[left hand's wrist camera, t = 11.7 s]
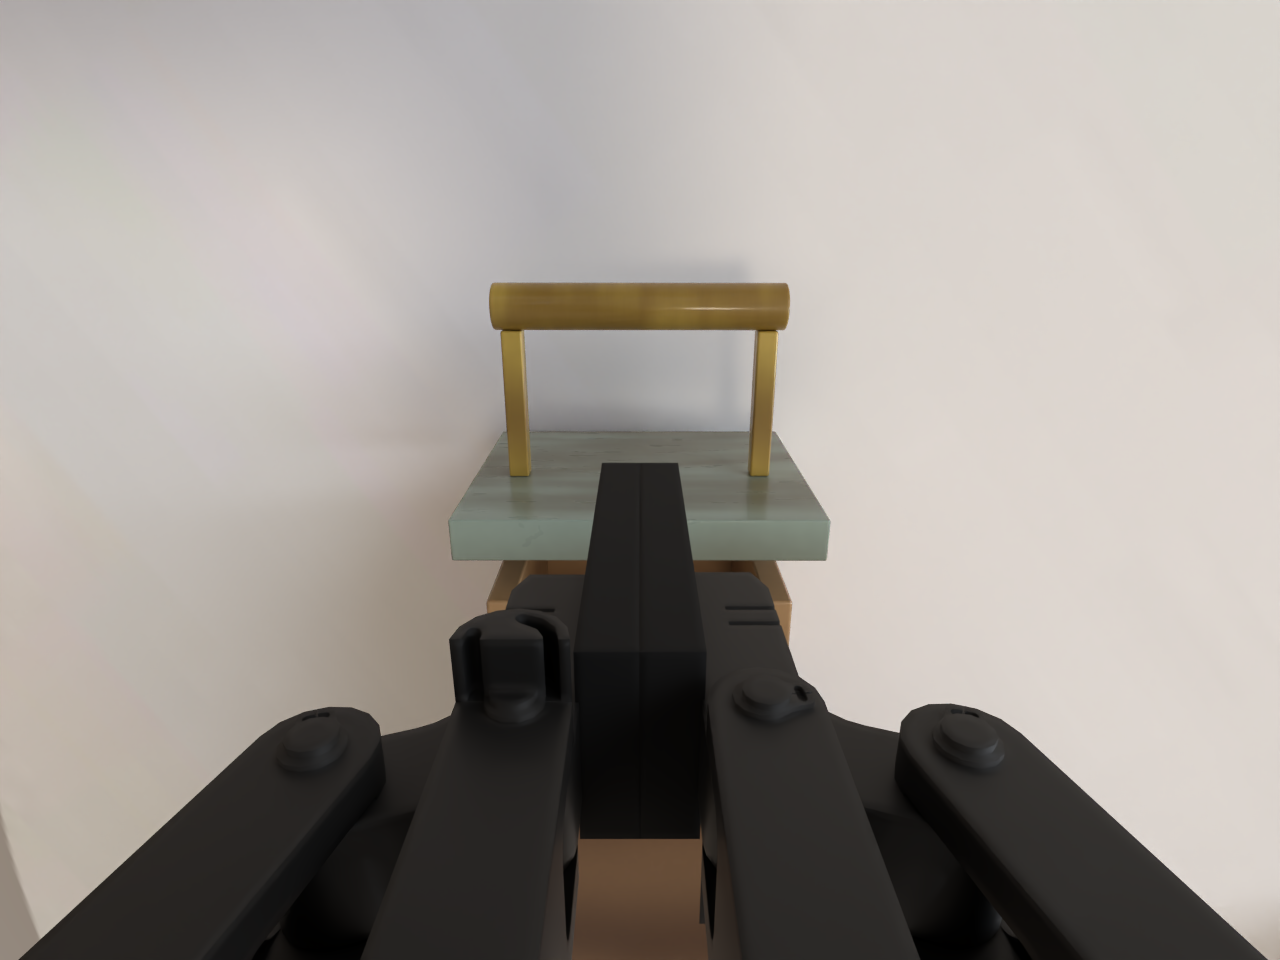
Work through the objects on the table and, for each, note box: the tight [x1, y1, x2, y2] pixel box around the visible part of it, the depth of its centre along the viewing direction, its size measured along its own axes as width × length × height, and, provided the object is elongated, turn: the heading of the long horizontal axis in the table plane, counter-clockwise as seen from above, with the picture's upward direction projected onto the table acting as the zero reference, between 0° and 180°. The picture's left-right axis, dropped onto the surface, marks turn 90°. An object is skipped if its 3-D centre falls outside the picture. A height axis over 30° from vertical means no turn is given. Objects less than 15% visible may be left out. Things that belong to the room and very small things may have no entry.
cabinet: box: [572, 823, 708, 960], centre depth 30 cm, size 20×11×10 cm, turn 0°
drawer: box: [448, 283, 830, 647], centre depth 26 cm, size 25×10×8 cm, turn 0°
